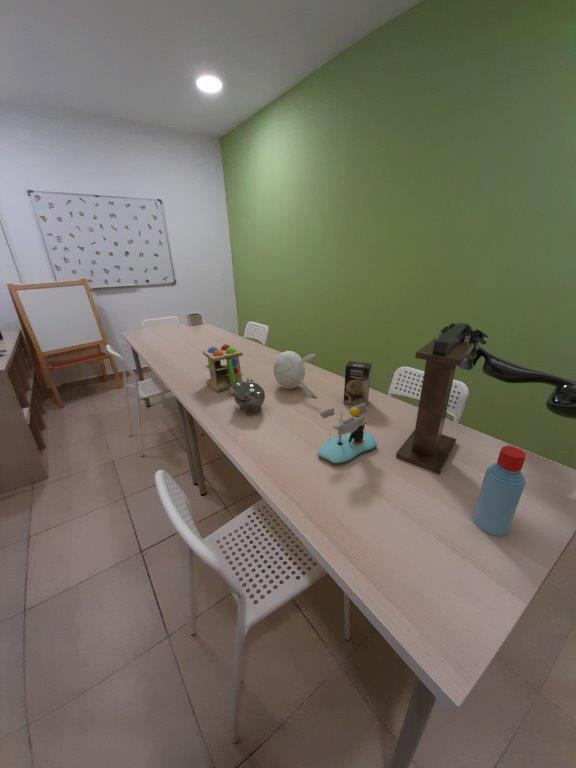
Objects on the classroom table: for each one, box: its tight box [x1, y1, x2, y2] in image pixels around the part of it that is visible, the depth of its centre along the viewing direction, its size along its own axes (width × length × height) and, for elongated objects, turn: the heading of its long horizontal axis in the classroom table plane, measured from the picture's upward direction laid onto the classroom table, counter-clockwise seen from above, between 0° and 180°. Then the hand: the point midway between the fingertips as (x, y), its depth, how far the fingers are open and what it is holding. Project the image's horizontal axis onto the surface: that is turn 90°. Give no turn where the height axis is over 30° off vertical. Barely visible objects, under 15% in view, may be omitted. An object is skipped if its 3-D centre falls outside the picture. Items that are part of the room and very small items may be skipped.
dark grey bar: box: [433, 322, 470, 355], centre depth 81 cm, size 3×24×3 cm, turn 140°
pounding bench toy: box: [202, 344, 247, 396], centre depth 135 cm, size 23×14×18 cm, turn 32°
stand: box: [395, 338, 474, 475], centre depth 84 cm, size 12×18×32 cm, turn 140°
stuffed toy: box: [273, 350, 318, 399], centre depth 130 cm, size 19×14×25 cm
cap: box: [496, 445, 527, 472], centre depth 59 cm, size 4×4×3 cm
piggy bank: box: [233, 377, 266, 416], centre depth 115 cm, size 11×15×12 cm
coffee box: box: [343, 360, 373, 406], centre depth 117 cm, size 9×6×16 cm
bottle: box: [472, 462, 526, 537], centre depth 62 cm, size 7×7×18 cm
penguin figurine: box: [317, 403, 378, 464], centre depth 89 cm, size 20×11×15 cm, turn 119°
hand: (459, 327), depth 85 cm, fingers closed on dark grey bar, 3 cm apart
